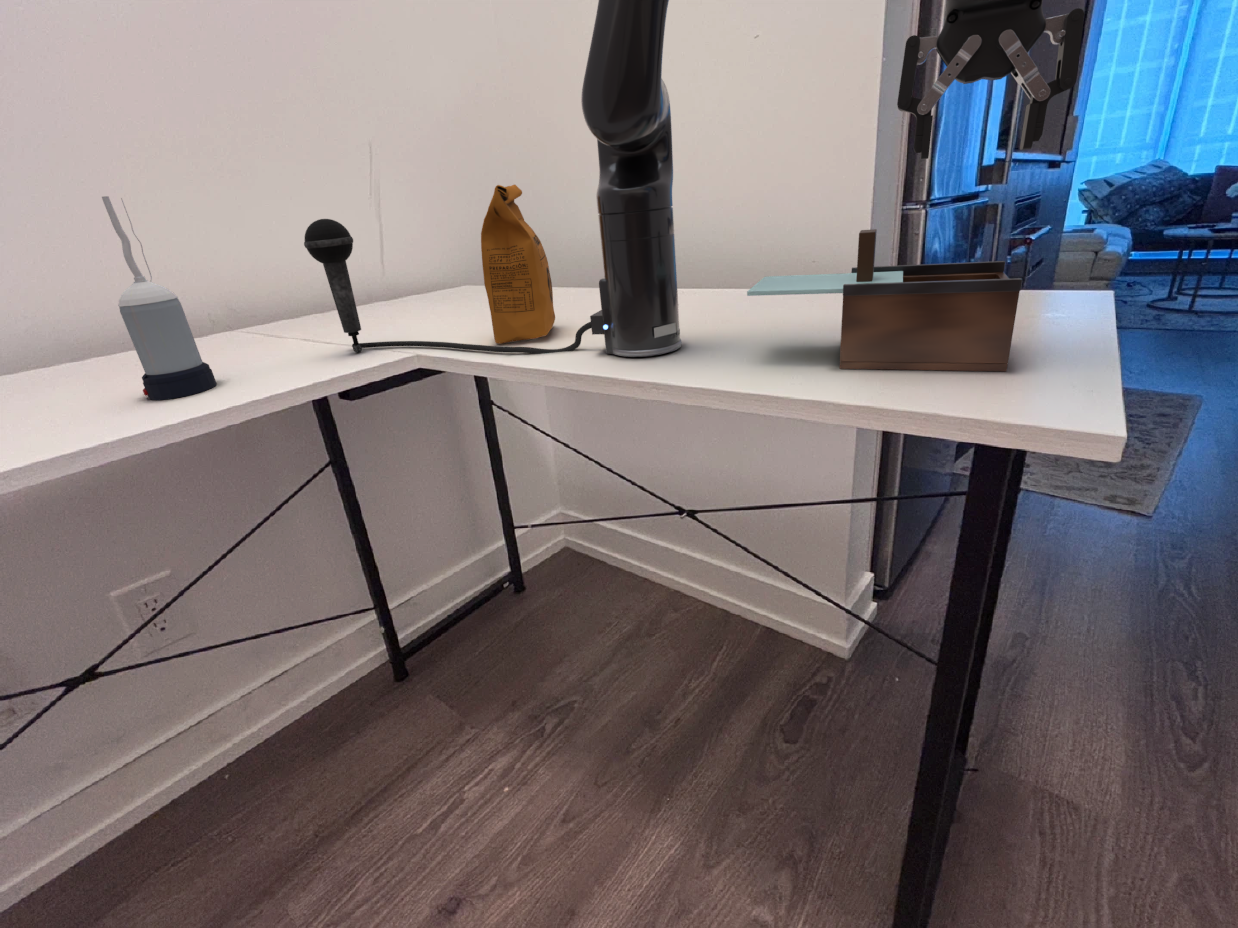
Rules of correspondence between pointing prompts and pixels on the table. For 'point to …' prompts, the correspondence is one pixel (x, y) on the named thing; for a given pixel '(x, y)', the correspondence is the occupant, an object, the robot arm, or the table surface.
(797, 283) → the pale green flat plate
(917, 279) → the case
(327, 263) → the microphone
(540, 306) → the coffee package
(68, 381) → the table surface
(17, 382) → the table surface
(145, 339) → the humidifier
